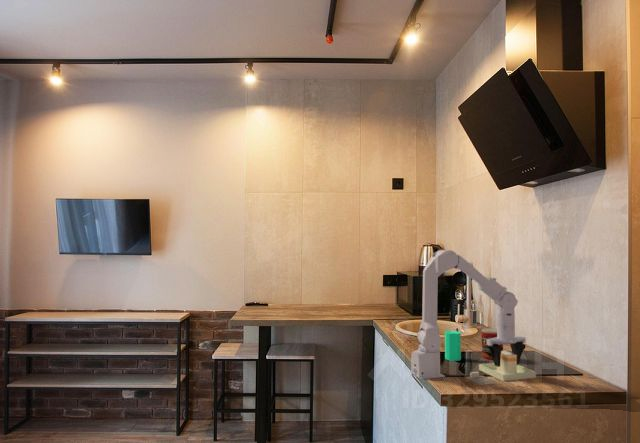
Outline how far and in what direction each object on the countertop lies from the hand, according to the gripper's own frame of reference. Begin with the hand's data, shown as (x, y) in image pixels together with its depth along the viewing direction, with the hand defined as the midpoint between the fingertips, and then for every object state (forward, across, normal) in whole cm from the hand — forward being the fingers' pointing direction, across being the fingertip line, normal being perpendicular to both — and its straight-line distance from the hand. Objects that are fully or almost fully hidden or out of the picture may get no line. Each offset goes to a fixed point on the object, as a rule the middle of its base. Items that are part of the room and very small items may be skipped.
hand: (506, 365), depth 155 cm
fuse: (+3, 0, 0) cm, 3 cm away
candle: (+4, -6, +24) cm, 25 cm away
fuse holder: (+3, -13, -4) cm, 14 cm away
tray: (+3, 0, 0) cm, 3 cm away
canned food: (+4, +10, +21) cm, 24 cm away
